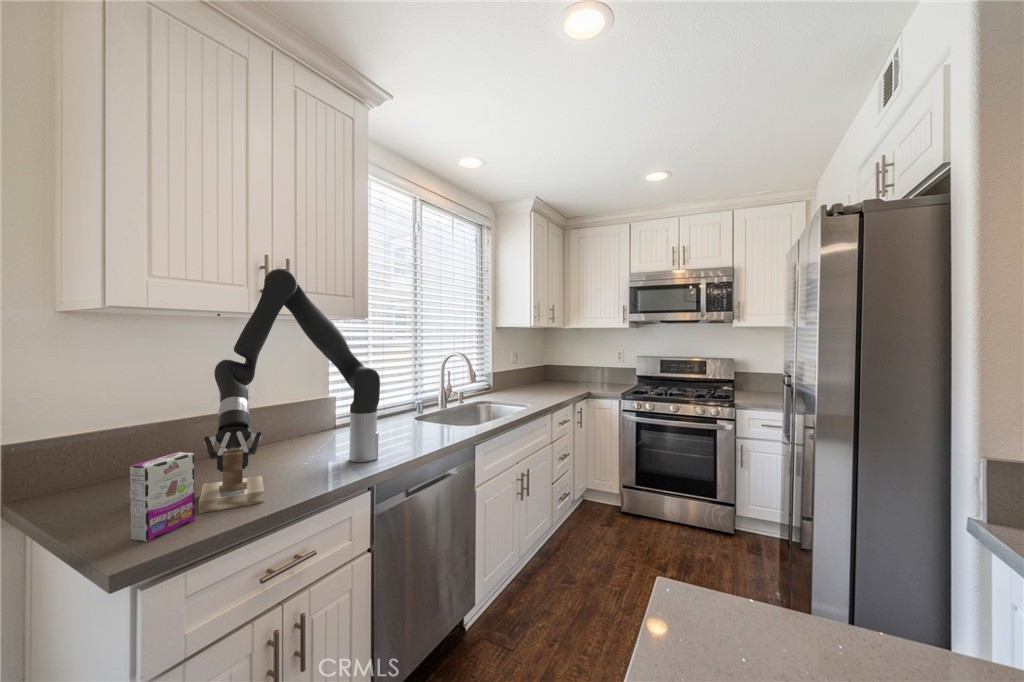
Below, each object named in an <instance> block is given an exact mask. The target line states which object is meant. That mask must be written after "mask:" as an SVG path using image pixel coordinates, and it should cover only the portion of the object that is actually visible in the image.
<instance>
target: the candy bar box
mask: <svg viewBox="0 0 1024 682" xmlns="http://www.w3.org/2000/svg"><path fill="white" fill-rule="evenodd" d="M129 498H130V500H129V501H130V502H129V503H130V506H129V507H130V509H129V510H130V540H132V541H135V542H136V541H137V542H145V543H146V542H147V543H148V542H151V541H153V540H155V539H157V538H160V537H162V536H164V535H166V534H169V533H170V532H172V531H175V530H178V529H179V528H181V527H184V526H185V525H187V524H191V523H192V522H194V521H195V520H196V516H195V515H196V514H195V513H196V512H195V504H196V503H195V453H193V452H187V451H184V452H183V451H177V452H175V453H171V454H167V455H163V456H160V457H156V458H153V459H149V460H146V461H141V462H140V463H139V462H138V463H135V464H133V465H129Z"/></svg>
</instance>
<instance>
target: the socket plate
mask: <svg viewBox="0 0 1024 682" xmlns="http://www.w3.org/2000/svg"><path fill="white" fill-rule="evenodd" d="M264 502H265V487H264V480H263V475H258V476H251V477H242V483H239V484H232V485H225V486H223V480H222V481H216V482H209V483H203V484H202V488H201V492H200V495H199V500H198V513H199V514H202V513H208V512H215V511H221V510H227V509H231V508H236V507H244V506H249V505H254V504H261V503H264Z"/></svg>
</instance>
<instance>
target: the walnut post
mask: <svg viewBox="0 0 1024 682" xmlns="http://www.w3.org/2000/svg"><path fill="white" fill-rule="evenodd" d="M242 463H243V450H240V449H236V450H235V449H234V450H227V451H225V452H224V453H223V472H222V481H223V486H225V485H232V484H239V483H242V479H243V469H242Z"/></svg>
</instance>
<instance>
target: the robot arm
mask: <svg viewBox="0 0 1024 682" xmlns="http://www.w3.org/2000/svg"><path fill="white" fill-rule="evenodd" d="M263 283H264V284H263V288H262V292H261V295H260V298H259V301H258V303H257V305H256V307H255V309H254V311H253V312H252V315H250V317H249V319H248V321H247V322H246V323H245V325H244V328H243V329H242V331H241V333H240V335H239V336H238V339H237V341H236V342H235V344H234V346H233V352H234V353H235V354H237V355H239V356H240V357H242V358H244V360H245V362H244V363H242V362H239V361H235V360H231V359H221V361H219V362H218V363H217V365H215V367H214V373H213V374H214V375H213V376H214V379H215V382H216V385H217V387H218V390H219V394H220V397H219V398H220V400H219V408H218V416H217V418H218V419H217V433H216V434H215V435H213V436H205V437H204V438H203V442H204V443H203V444H204V447H205V450H206V451H207V455H208V457H209V459H210V460H214V459H215V460H216V469H217V471H220V473H223V453H224V452H225V451H228V450H229V449H234V448H235V449H239V450H243V463H242V470H246V467H248V466H249V457H250V455H256V453H257V450H258V447H259V446H260V445H259V444H260V442H261V440H262V432H261V431H257V432H256V433H255V432H252V431H251V429H250V406H249V389H248V388H247V386H248V385H250V384H251V383H252V382H253V381H254V379H255V374H256V369H257V363H258V358H259V356H260V352H261V351H262V349H263V346H265V343H266V341H267V339H268V337H269V336H270V335H269V334H270V332H271V330H272V328H273V325H274V323H275V321H276V319H277V318H278V315H279V313H280V312H281V311H282V309H283V307H285V308H286V309H287V310H288V311H289V312H290V313H291V314H292V316H293V318H294V319H295V320H296V322H297V324H298V325H299V327H300V329H301V330H302V331H303V333H304V334H305V335H306V336H307V338H308V339H309V340H310V341H311V343H312V344H313V345H314V346H315V347H316V348H317V349H318V350H319V351H320V352H321V353H322V354H323V356H324V357H326V358H327V360H328V361H330V362H331V363H332V364H333V365H334V367H336V369H337V370H338V372H339V373H340V374H341V375H342V377H343V379H344V380H345V381H346V383H347V384H348V386H349V388H351V389H352V390H353V400H352V402H351V404H350V406H349V455H348V456H349V461H350V462H353V463H368V462H372V461H375V460H379V432H378V406H379V403H380V394H381V380H380V379H381V378H380V374H379V373H378V371H377V370H376V369H374V368H372V367H368V366H367V367H366V366H365V365H364V364H363V363H362V362H361V361H360V360H359V359H358V358H357V357H356V356H355V355H354V354H353V352H352V350H351V349H350V347H349V345H348V343H347V340H346V338H345V337H344V334H343V333H342V332H341V331H340V329H339V328H338V326H336V324H334V322H333V321H332V320H331V319H330V318H329V317H328V315H326V313H324V312H323V310H322V309H320V308H319V307H318V306H317V305H316V304H315V303H314V302H313V301H312V300H311V299H310V298H309V297H308V295H307V294H306V293H305V291H304V290H303V288H302V287H301V285H300V284H299V282H298V281H297V278H296V276H295V275H294V274H293V273H292V272H291V271H289V270H287V269H284V268H276V269H272V270H271V271H269V272H268V273H267V274H266V276H265V278H264V281H263ZM250 438H251V440H252V441H253V442H252V444H251V447H250V448H248V446H247V442H248V441H249V439H250ZM215 442H217V443H219V445H220V446H219V449H218V451H215V449H214V444H215Z"/></svg>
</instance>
